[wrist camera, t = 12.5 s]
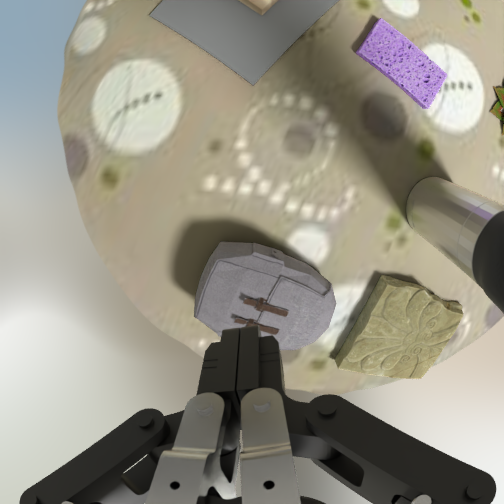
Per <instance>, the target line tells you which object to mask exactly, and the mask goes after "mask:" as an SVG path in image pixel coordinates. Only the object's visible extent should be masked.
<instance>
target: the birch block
mask: <svg viewBox="0 0 504 504" xmlns="http://www.w3.org/2000/svg"><path fill="white" fill-rule="evenodd" d="M238 1H240V2H242V3H243V4H245V5H246V6H248V7H249V8H251V9H252V10H254V11H255V12H257V13H258V14H260V15H261V16H262V15H263V14H264V13H265V12H266V11H267V10H269V9H270V8H271V7H272V6H273V5H274V4H275V3H276V2H277V1H278V0H238Z"/></svg>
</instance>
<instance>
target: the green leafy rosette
mask: <svg viewBox="0 0 504 504" xmlns="http://www.w3.org/2000/svg"><path fill="white" fill-rule="evenodd" d="M494 89H495V91H496V93H497V95H498V97H499V99H500V101H498V102H497V103H496V104H495V106H494V107H493V109H492V110H491V111H490V112H491V113H493V114H494V115H496V117H497V118H499V119H500V120H502V121H504V113H503V112H501V111H500V110H501V109H502V108H504V88H496V87H494ZM502 135H504V126H503V132H502Z"/></svg>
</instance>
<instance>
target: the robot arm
mask: <svg viewBox="0 0 504 504" xmlns="http://www.w3.org/2000/svg"><path fill="white" fill-rule="evenodd" d="M406 214H407V219H408V222H409V224H410V226H411V227H412V228H413V230H414V231H415V232H417V233H418V234H419V235H420V236H422V237H423V238H424V239H425V240H427V241H428V242H429V243H430V244H432V245H433V246H434V247H435V248H436V249H438V250H439V251H440V252H441V253H442V254H444V255H445V256H446V257H447V258H448V259H450V260H451V261H452V262H453V263H454V264H455V265H457V266H458V267H459V268H460V269H461V270H462V271H464V272H465V273H466V274H467V275H468V276H469V277H470V278H472V279H473V280H474V281H475V282H476V283H477V284H478V285H479V286H480V287H481V288H482V289H483V290H484V292H485V293H486V295H487V296H488V297H489V298H490V299H491V300H492V301H493V302H494V304H495V305H496V306H497V307H498V308H499V309H500V310H501V311H502V312H503V313H504V205H502V204H500V203H498V202H495V201H493V200H491V199H489V198H487V197H484V196H482V195H480V194H478V193H475V192H473V191H471V190H468V189H466V188H463V187H461V186H459V185H456V184H454V183H452V182H449V181H447V180H444V179H441V178H438V177H428V178H425V179H423V180H421V181H420V182H418V183H417V184H416V185H415V186H414V188H413V189H412V191H411V192H410V194H409V197H408V200H407V204H406ZM240 430H242V440H243V451H242V452H241V453H240V450H241V443H240V441H239V440H240ZM146 454H147V456H146V457H145V458H143V457H144V456H145V455H146ZM293 456H296V457H304V458H311V460H312V461H313V462H314V463H315V464H316V465H318V466H319V467H320V468H322V469H323V470H324V471H326V472H327V473H329V474H330V475H331V476H333V477H334V478H335V479H337V480H338V481H340V482H341V483H343V484H344V485H346V486H347V487H349V488H350V489H351V490H353V491H355V492H356V493H357V494H359V495H360V496H362V497H364V498H365V499H366V500H368V501H370V502H371V503H373V504H490V503H491V502H492V501H493V499H494V497H495V494H496V484H495V481H494V479H493V478H492V476H491V475H489V474H488V473H486V472H484V471H482V470H480V469H477V468H475V467H473V466H471V465H468V464H466V463H464V462H462V461H460V460H458V459H455V458H453V457H451V456H449V455H447V454H445V453H443V452H441V451H439V450H437V449H435V448H433V447H431V446H429V445H427V444H425V443H423V442H421V441H419V440H417V439H415V438H413V437H412V436H409V435H408V434H406V433H404V432H402V431H400V430H398V429H396V428H395V427H393V426H391V425H389V424H387V423H385V422H384V421H382V420H380V419H378V418H376V417H375V416H373V415H371V414H369V413H368V412H366V411H364V410H362V409H361V408H359V407H357V406H355V405H354V404H352V403H350V402H348V401H347V400H345V399H343V398H342V397H340V396H337V395H330V394H328V395H322V396H319V397H316V398H314V399H313V400H312V401H311V402H310V403H305V402H298V401H294V400H292V399H290V398H288V397H287V396H286V395H285V384H284V373H283V365H282V359H281V353H280V347H279V342H278V341H277V340H276V339H275V337H274V336H273V335H271V336H264V337H262V336H261V331H260V327H259V325H255V326H247V327H241V328H232V329H224V330H222V335H221V342H215V343H211V345H210V346H209V347H208V349H207V350H206V351H205V355H204V362H203V365H202V370H201V375H200V380H199V386H198V391H197V395H196V396H195V397H193V398H192V399H190V401H189V402H188V403H187V405H186V408H185V410H183V411H180V412H177V413H174V414H170V415H167V416H163V414H162V413H161V412H160V411H158V410H156V409H144V410H141V411H139V412H137V413H136V414H134V415H133V416H132V417H130V418H129V419H128V420H126V421H125V422H124V423H122V424H121V425H119V426H118V427H117V428H116V429H114V430H113V431H111V432H110V433H109V434H107V435H106V436H105V437H103V438H102V439H100V440H99V441H98V442H96V443H95V444H93V445H92V446H91V447H89V448H88V449H86V450H85V451H84V452H82V453H81V454H79V455H78V456H76V457H75V458H73V459H72V460H71V461H69V462H68V463H66V464H65V465H63V466H62V467H60V468H59V469H58V470H56V471H55V472H53V473H51V474H50V475H48V476H47V477H45V478H44V479H42V480H41V481H40V482H38V483H36V484H35V485H33V486H32V487H30V488H28V489H27V490H26V491H25V492H24V493H23V494H22V496H21V498H20V504H325V503H323V502H321V501H318V500H316V499H313V498H309V497H304V496H300V493H299V488H298V482H297V476H296V471H295V465H294V460H293ZM239 457H240V473H241V492H242V496H241V497H236V490H235V486H236V478H237V471H238V464H239ZM141 458H143V459H142V460H141V461H140V462H138V461H139V460H140V459H141ZM136 462H138V463H137V464H136V465H134V464H135V463H136ZM132 465H134V466H133V467H132V468H131V469H130V470H128V471H127V472H125V471H126V470H127V469H128V468H130V467H131V466H132ZM124 472H125V473H124Z"/></svg>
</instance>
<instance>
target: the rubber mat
mask: <svg viewBox="0 0 504 504" xmlns="http://www.w3.org/2000/svg"><path fill="white" fill-rule="evenodd" d="M338 1H339V0H278V1H277V2H276V3H275V4H274V5H273V6H272V7H271V8H270V9H269V10H267V11H266V12H265V13H264V14H263V15H262V16H261V15H260V14H258V13H257V12H255V11H254V10H252V9H251V8H249V7H248V6H246V5H245V4H243V3H242V2H240V1H238V0H163V1H162V2H161V3H160V4H159V5H158V6H157V7H156V8H155V10H154V11H153V12H152V13H151V14H150V15H149V16H151V17H152V18H154V19H156V20H158V21H159V22H161V23H163V24H164V25H166V26H167V27H169V28H171V29H172V30H174V31H176V32H177V33H179V34H180V35H182V36H183V37H185V38H187V39H188V40H190V41H191V42H193V43H194V44H196V45H197V46H199V47H200V48H202V49H203V50H205V51H206V52H208V53H209V54H211V55H212V56H213V57H215V58H216V59H218V60H219V61H221V62H222V63H223V64H225V65H226V66H228V67H229V68H230V69H232V70H233V71H234V72H236V73H237V74H238V75H240V76H241V77H242V78H244V79H245V80H246V81H248V82H249V83H250V84H252V85H254V84H255V83H256V82H257V81H258V80H259V79H260V78H261V77H262V76H263V74H264V73H265V72H266V71H267V70H268V69H269V68H270V67H271V66H272V65H273V64H274V63H275V62H276V61H277V60H278V59H279V57H280V56H281V55H282V54H283V53H284V52H285V51H286V50H287V49H288V48H289V47H290V46H291V45H292V44H293V43H294V42H295V41H296V40H297V39H298V38H299V37H300V36H301V35H302V34H303V33H304V32H305V31H306V30H307V29H309V28H310V27H311V26H312V25H313V24H314V23H315V22H316V21H317V20H318V19H319V18H320V17H321V16H322V15H323V14H324V13H326V12H327V11H328V10H329V9H330V8H331V7H332V6H333V5H334V4H335V3H337V2H338Z"/></svg>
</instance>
